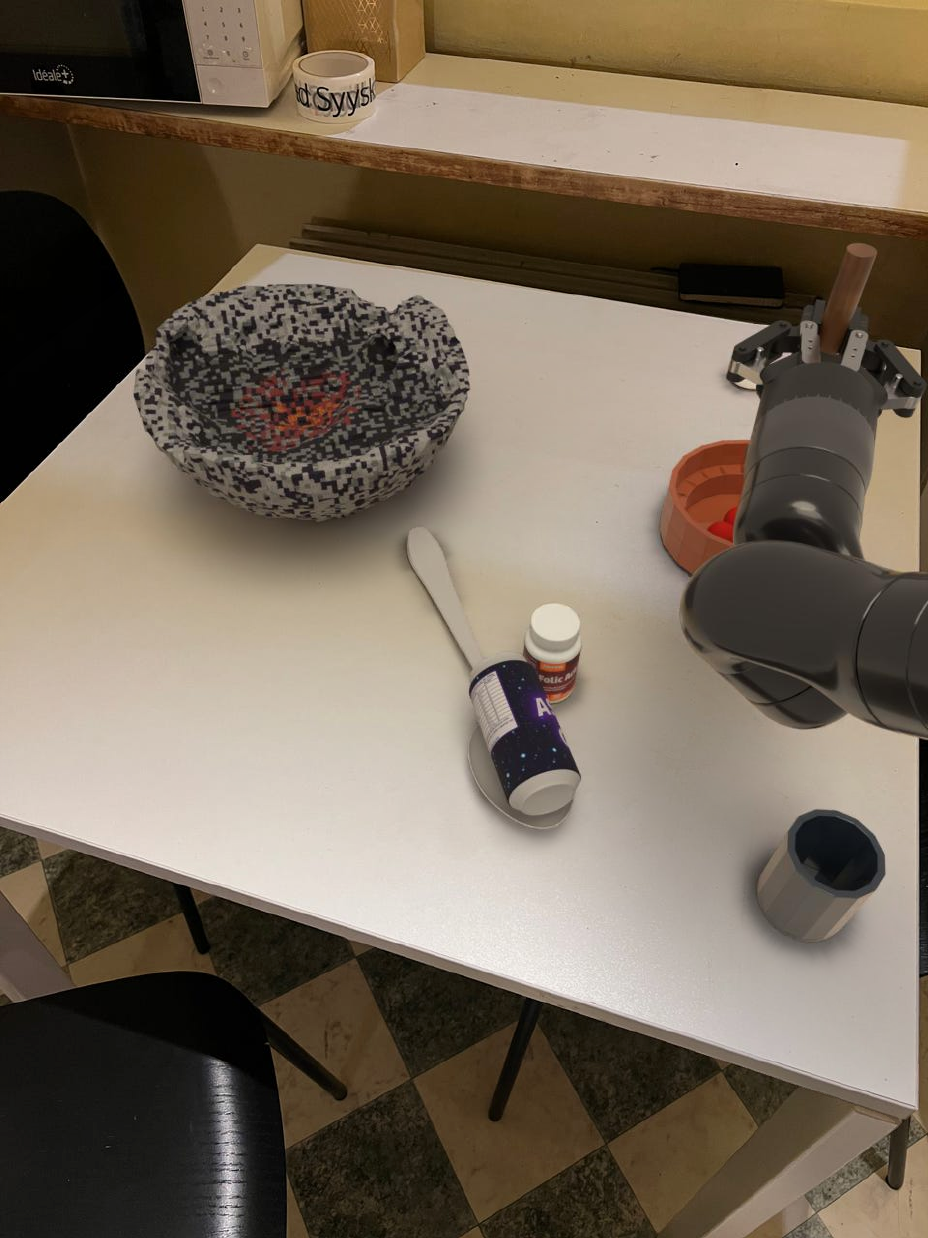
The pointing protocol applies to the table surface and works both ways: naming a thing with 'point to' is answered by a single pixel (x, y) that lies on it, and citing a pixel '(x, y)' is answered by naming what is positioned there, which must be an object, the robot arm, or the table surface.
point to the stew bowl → (702, 501)
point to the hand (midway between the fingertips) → (834, 314)
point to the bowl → (302, 396)
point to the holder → (820, 875)
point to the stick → (845, 296)
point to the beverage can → (522, 734)
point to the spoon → (439, 585)
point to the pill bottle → (554, 648)
